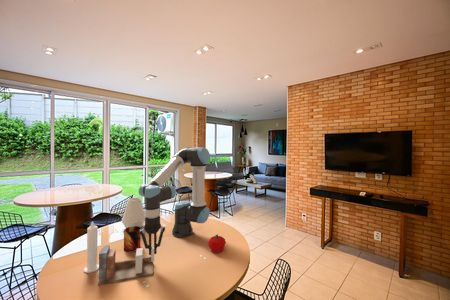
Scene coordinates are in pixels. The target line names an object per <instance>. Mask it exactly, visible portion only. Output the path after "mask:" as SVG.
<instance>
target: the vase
mask: <svg viewBox="0 0 450 300" xmlns="http://www.w3.org/2000/svg"><path fill="white" fill-rule="evenodd" d="M121 223H122V225H123V226H124V229H126V228H128V227H132V226H138V227H140V228H141V229H142V227H143V225H144V224H145V208H144V206H143V203H142V200H141V197H131V198H128V200H127V203H126V206H125V209H124V213H123V216H122V219H121Z"/></svg>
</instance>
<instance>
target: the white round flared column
mask: <svg viewBox="0 0 450 300" xmlns="http://www.w3.org/2000/svg"><path fill="white" fill-rule="evenodd" d="M98 229H99V227H98V226H97V225H95V223H94V221H91V224H90V225H89V227H87V229H86V231H87V232H86V233H87V234H86V235H87V236H86V266H85V267H84V268H83V272H84V273H85V274H89V273H90V274H92V273H94V272H97V271H99V263H98V231H99V230H98Z"/></svg>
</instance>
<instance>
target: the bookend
mask: <svg viewBox="0 0 450 300" xmlns="http://www.w3.org/2000/svg"><path fill="white" fill-rule="evenodd" d="M143 258H144V248H143V247H140V248H138V249H137V250H136V252H135V259H136V266H135V274H138V273H142V266H143Z"/></svg>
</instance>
